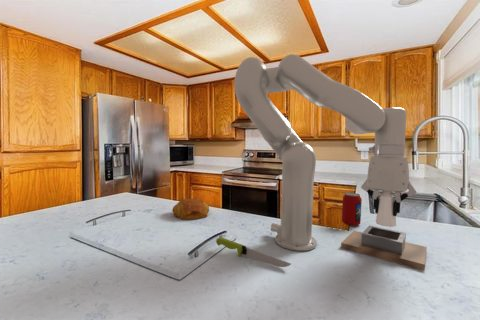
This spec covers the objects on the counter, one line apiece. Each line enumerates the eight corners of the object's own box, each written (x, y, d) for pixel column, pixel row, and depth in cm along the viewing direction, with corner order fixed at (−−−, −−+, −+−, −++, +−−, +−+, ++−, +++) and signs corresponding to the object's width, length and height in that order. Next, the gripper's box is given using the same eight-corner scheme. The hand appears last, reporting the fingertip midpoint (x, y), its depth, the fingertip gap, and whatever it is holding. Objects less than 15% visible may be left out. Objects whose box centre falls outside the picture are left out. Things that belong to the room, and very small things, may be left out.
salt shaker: (400, 227, 68) (402, 188, 68) (381, 226, 68) (383, 188, 68) (389, 221, 74) (391, 185, 73) (371, 220, 74) (373, 185, 73)
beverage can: (362, 227, 91) (364, 196, 90) (343, 226, 92) (345, 195, 92) (357, 222, 98) (359, 192, 97) (340, 220, 99) (341, 191, 98)
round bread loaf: (173, 216, 108) (171, 199, 107) (207, 209, 112) (205, 193, 111) (174, 226, 94) (171, 206, 93) (213, 218, 98) (210, 199, 97)
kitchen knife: (291, 273, 59) (292, 262, 59) (289, 276, 58) (290, 264, 58) (218, 246, 70) (218, 236, 70) (215, 247, 69) (216, 237, 69)
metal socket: (361, 245, 71) (361, 233, 71) (368, 235, 78) (369, 225, 78) (401, 255, 65) (402, 242, 64) (405, 244, 72) (405, 232, 72)
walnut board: (341, 247, 73) (341, 242, 72) (353, 234, 83) (353, 230, 83) (424, 270, 60) (424, 264, 60) (426, 251, 71) (426, 246, 71)
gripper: (354, 151, 72) (352, 211, 73) (424, 152, 62) (420, 222, 63) (360, 150, 78) (358, 206, 79) (425, 152, 67) (422, 216, 69)
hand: (386, 212), depth 71 cm, fingers closed on salt shaker, 3 cm apart
